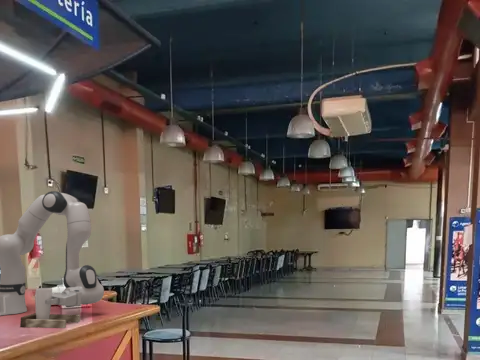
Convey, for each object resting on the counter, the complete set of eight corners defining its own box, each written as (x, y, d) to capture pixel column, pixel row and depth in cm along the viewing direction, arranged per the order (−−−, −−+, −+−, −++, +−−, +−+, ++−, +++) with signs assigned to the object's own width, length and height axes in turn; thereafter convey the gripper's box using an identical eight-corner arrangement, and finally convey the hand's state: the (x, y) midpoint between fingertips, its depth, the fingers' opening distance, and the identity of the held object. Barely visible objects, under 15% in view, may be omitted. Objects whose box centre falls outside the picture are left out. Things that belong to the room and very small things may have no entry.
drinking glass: (44, 325, 193) (46, 289, 195) (30, 325, 194) (32, 289, 196) (54, 322, 200) (55, 287, 201) (40, 322, 201) (41, 287, 203)
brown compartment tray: (20, 327, 192) (20, 317, 192) (38, 320, 204) (38, 311, 205) (63, 328, 188) (64, 318, 189) (79, 321, 201) (80, 312, 202)
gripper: (59, 288, 215) (30, 291, 204) (83, 291, 202) (53, 295, 191) (58, 301, 214) (29, 306, 204) (82, 306, 201) (53, 311, 191)
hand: (41, 301), depth 197 cm, fingers closed on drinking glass, 6 cm apart
